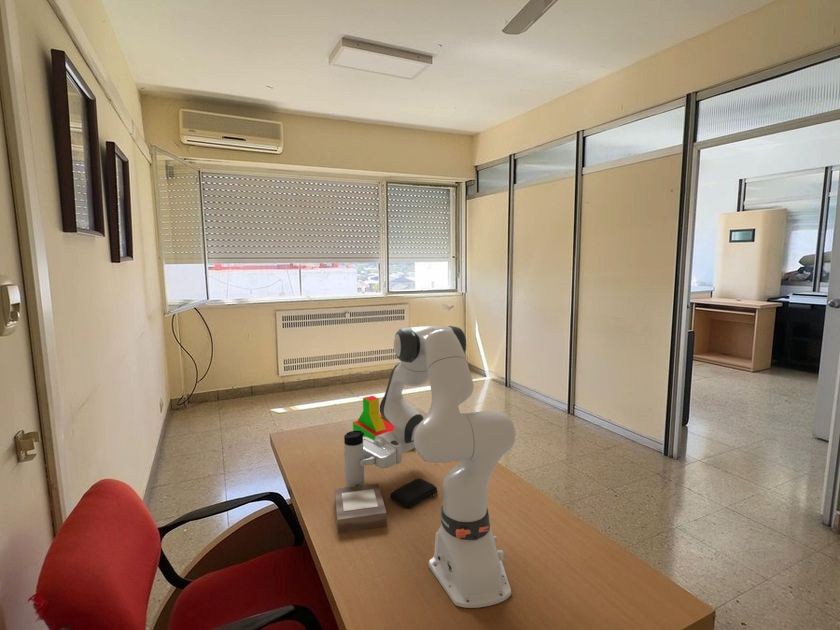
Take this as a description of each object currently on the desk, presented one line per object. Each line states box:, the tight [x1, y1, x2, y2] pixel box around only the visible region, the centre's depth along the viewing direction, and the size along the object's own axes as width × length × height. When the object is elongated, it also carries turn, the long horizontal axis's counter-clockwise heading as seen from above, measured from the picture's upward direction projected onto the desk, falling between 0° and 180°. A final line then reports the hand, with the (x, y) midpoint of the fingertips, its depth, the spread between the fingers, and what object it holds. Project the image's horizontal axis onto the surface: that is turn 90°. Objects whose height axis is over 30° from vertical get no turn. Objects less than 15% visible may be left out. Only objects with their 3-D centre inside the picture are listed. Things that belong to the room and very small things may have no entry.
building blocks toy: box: [352, 395, 395, 440], centre depth 186 cm, size 19×25×18 cm
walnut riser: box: [334, 483, 388, 534], centre depth 134 cm, size 17×14×4 cm
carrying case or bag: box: [389, 477, 439, 509], centre depth 143 cm, size 11×3×15 cm
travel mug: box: [343, 430, 365, 488], centre depth 146 cm, size 6×7×20 cm
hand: (352, 458), depth 146 cm, fingers open, 7 cm apart
